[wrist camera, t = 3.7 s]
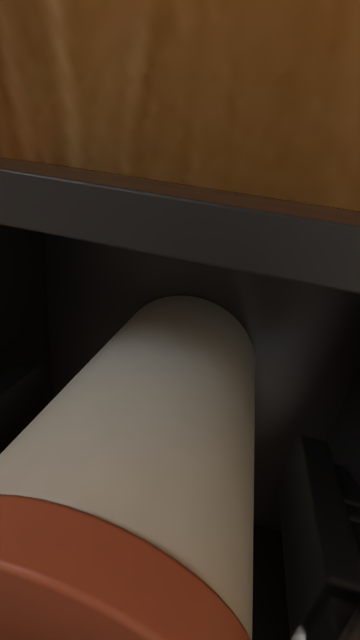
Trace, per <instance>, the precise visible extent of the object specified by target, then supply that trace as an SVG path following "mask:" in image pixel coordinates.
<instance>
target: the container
mask: <svg viewBox="0 0 360 640" xmlns="http://www.w3.org/2000/svg"><path fill="white" fill-rule="evenodd" d="M254 432H255V354H254V348H253V345H252V342H251V340H250V338H249V336H248V334H247V332H246V330H245V329H244V327H243V326H242V325H241V324H240V322H239V321H238V320H237V319H236V318H235V317H234V316H233V315H232V314H230V313H229V312H228V311H227V310H225V309H224V308H222V307H221V306H219V305H217V304H215V303H213V302H211V301H208V300H205V299H202V298H198V297H194V296H185V295H177V296H168V297H163V298H160V299H157V300H154V301H152V302H150V303H148V304H147V305H145V306H144V307H142V308H141V309H140V310H139V311H137V312H136V313H135V314H134V315H133V316H132V318H131V319H130V320H129V321H128V322H127V323H126V324H125V325H124V326H123V327H122V328H121V329H120V330H119V331H118V332H117V333H116V334H115V335H114V336H113V337H112V338H111V339H110V340H109V341H108V343H107V344H106V345H105V346H104V347H103V348H102V349H101V350H100V351H99V352H98V353H97V354H96V355H95V356H94V357H93V358H92V359H91V360H90V361H89V362H88V363H87V364H86V365H85V366H84V367H83V369H82V370H81V371H80V372H79V373H78V374H77V375H76V376H75V377H74V378H73V379H72V380H71V381H70V382H69V383H68V384H67V385H66V386H65V387H64V388H63V389H62V390H61V391H60V392H59V394H58V395H57V396H56V397H55V398H54V399H53V400H52V401H51V402H50V403H49V404H48V405H47V406H46V407H45V408H44V409H43V410H42V411H41V412H40V413H39V414H38V415H37V416H36V417H35V419H34V420H33V421H32V422H31V423H30V424H29V425H28V426H27V427H26V428H25V429H24V430H23V431H22V432H21V433H20V434H19V435H18V436H17V437H16V438H15V439H14V440H13V441H12V442H11V444H10V445H9V446H8V447H7V448H6V449H5V450H4V451H3V452H2V453H1V454H0V640H252V610H253V521H254Z"/></svg>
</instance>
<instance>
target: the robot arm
mask: <svg viewBox="0 0 360 640" xmlns="http://www.w3.org/2000/svg"><path fill="white" fill-rule="evenodd" d="M46 406H47V386H46V370H45V367H44V366H43V365H40V364H36V363H32V362H29V361H25V360H17V361H15V362H14V363H12V364H11V365H9V366H8V367H7V368H5V369H4V370H2V371H0V454H1V453H2V452H3V451H4V450H5V449H6V448H7V447H8V446H9V445H10V444H11V442H12V441H13V440H14V439H15V438H16V437H17V436H18V435H19V434H20V433H21V432H22V431H23V430H24V429H25V428H26V427H27V426H28V425H29V424H30V423H31V422H32V421H33V420H34V419H35V417H36V416H37V415H38V414H39V413H40V412H41V411H42V410H43V409H44V408H45V407H46ZM279 502H280V515H281V528H282V542H283V555H284V569H285V582H286V596H287V609H288V622H289V636H290V640H360V488H359V485H358V484H357V483H356V481H355V480H354V479H353V477H352V476H351V474H350V473H349V472H348V470H347V469H346V468H345V467H344V466H340V465H337V464H334V462H333V459H332V455H331V452H330V448H329V445H328V443H327V442H326V441H322V440H319V439H315V438H311V437H307V436H304V435H300V434H298V435H297V436H296V437H295V440H294V442H293V444H292V447H291V449H290V452H289V454H288V457H287V459H286V462H285V464H284V467H283V469H282V472H281V476H280V482H279Z"/></svg>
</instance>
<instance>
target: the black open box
mask: <svg viewBox="0 0 360 640" xmlns="http://www.w3.org/2000/svg"><path fill="white" fill-rule="evenodd" d="M177 295H185V296H194V297H198V298H202V299H205V300H208V301H211V302H213V303H215V304H217V305H219V306H221V307H222V308H224V309H225V310H227V311H228V312H229V313H230V314H232V315H233V316H234V317H235V318H236V319H237V320H238V321H239V322H240V324H241V325H242V326H243V327H244V329H245V330H246V332H247V334H248V336H249V338H250V340H251V342H252V345H253V348H254V354H255V432H254V521H253V610H252V640H290V636H289V622H288V609H287V596H286V582H285V569H284V555H283V542H282V528H281V515H280V502H279V482H280V476H281V472H282V469H283V467H284V464H285V462H286V459H287V457H288V454H289V452H290V449H291V447H292V444H293V442H294V440H295V437H296V436H297V435H298V434H300V435H304V436H307V437H311V438H315V439H319V440H322V441H326V442H327V443H328V445H329V448H330V452H331V455H332V459H333V462H334V464H337V465H340V466H344V467H345V468H346V469H347V470H348V472H349V473H350V474H351V476H352V477H353V479H354V480H355V481H356V483H357V484H358V485H359V488H360V212H358V211H352V210H345V209H339V208H332V207H326V206H319V205H313V204H307V203H300V202H294V201H287V200H281V199H274V198H268V197H261V196H255V195H248V194H242V193H235V192H229V191H222V190H216V189H209V188H203V187H196V186H190V185H183V184H177V183H170V182H164V181H158V180H151V179H145V178H138V177H132V176H125V175H119V174H112V173H106V172H99V171H93V170H86V169H80V168H73V167H67V166H60V165H54V164H47V163H41V162H34V161H25V160H16V159H7V158H0V371H2V370H4V369H5V368H7V367H8V366H9V365H11V364H12V363H14V362H15V361H17V360H25V361H29V362H32V363H36V364H40V365H43V366H44V367H45V370H46V386H47V405H48V404H49V403H50V402H51V401H52V400H53V399H54V398H55V397H56V396H57V395H58V394H59V392H60V391H61V390H62V389H63V388H64V387H65V386H66V385H67V384H68V383H69V382H70V381H71V380H72V379H73V378H74V377H75V376H76V375H77V374H78V373H79V372H80V371H81V370H82V369H83V367H84V366H85V365H86V364H87V363H88V362H89V361H90V360H91V359H92V358H93V357H94V356H95V355H96V354H97V353H98V352H99V351H100V350H101V349H102V348H103V347H104V346H105V345H106V344H107V343H108V341H109V340H110V339H111V338H112V337H113V336H114V335H115V334H116V333H117V332H118V331H119V330H120V329H121V328H122V327H123V326H124V325H125V324H126V323H127V322H128V321H129V320H130V319H131V318H132V316H133V315H134V314H135V313H136V312H137V311H139V310H140V309H141V308H142V307H144V306H145V305H147V304H148V303H150V302H152V301H154V300H157V299H160V298H163V297H168V296H177Z"/></svg>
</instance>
